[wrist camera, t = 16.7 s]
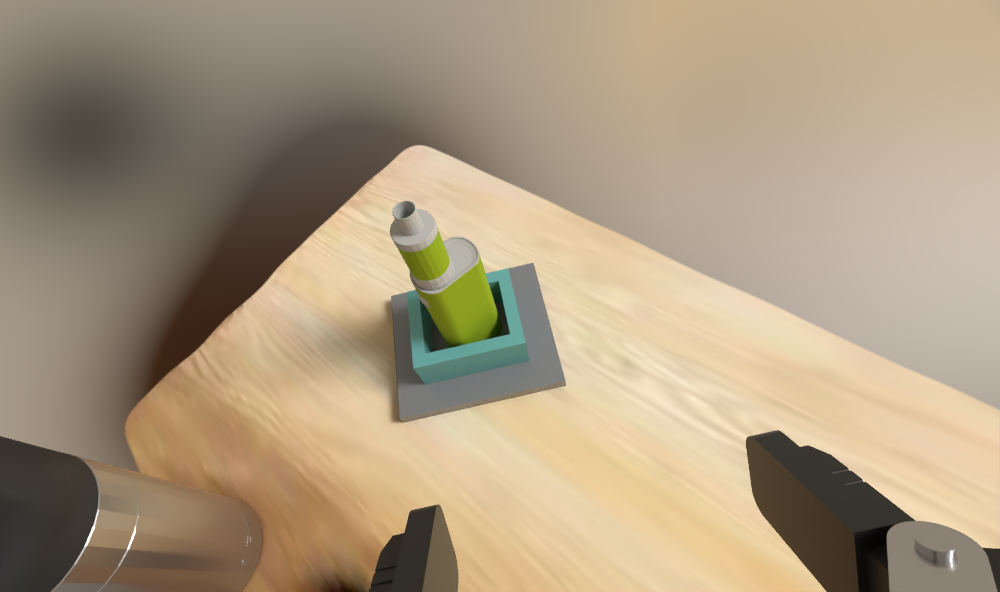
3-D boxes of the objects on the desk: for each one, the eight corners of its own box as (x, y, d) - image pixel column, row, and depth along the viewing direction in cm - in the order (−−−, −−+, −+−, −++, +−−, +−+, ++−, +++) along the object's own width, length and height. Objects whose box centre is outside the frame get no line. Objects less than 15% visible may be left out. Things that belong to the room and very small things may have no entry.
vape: (440, 342, 49) (364, 212, 32) (485, 306, 50) (435, 163, 34) (462, 366, 47) (394, 242, 30) (508, 329, 49) (467, 190, 32)
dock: (403, 422, 46) (384, 404, 42) (395, 301, 54) (378, 276, 50) (565, 385, 46) (563, 363, 42) (534, 269, 54) (529, 240, 49)
